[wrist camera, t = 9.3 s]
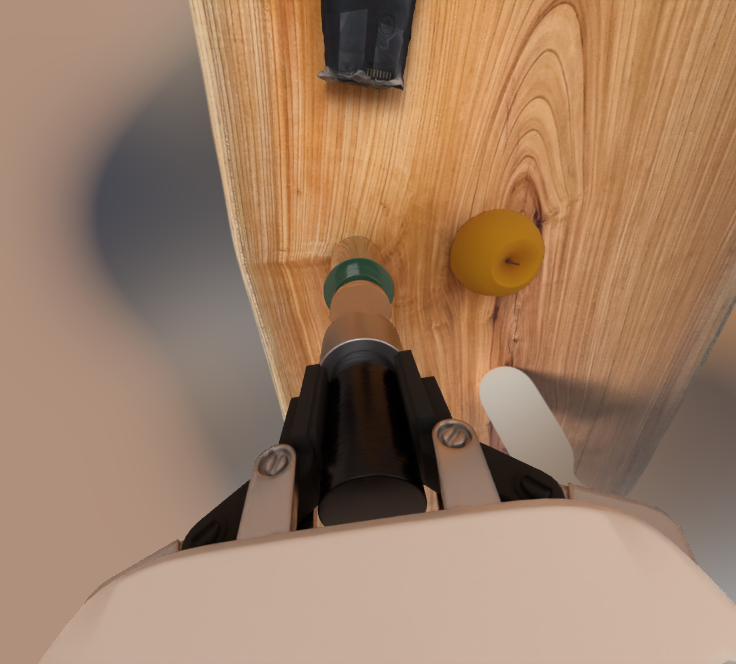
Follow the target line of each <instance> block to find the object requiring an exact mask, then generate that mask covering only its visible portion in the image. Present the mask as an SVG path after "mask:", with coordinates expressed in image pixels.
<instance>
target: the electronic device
mask: <svg viewBox="0 0 736 664" xmlns="http://www.w3.org/2000/svg"><path fill="white" fill-rule="evenodd" d="M415 3H416V0H321V17H322V31H323V35H324V44H325V65H326V66H325V70H324V71H321V72H319V74H317V77H319V78H321V79H323V80H325V81H329V82H334V83H343V84H350V85H356V86H363V87H368V88H375V89H386V88H390V87H394V88H399V89H402V91H403V87H404V80H403V75H404V69H405V64H406V57H407V51H408V45H409V41H410V39H411V27H412V21H413V15H414V10H415Z"/></svg>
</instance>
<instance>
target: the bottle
mask: <svg viewBox="0 0 736 664" xmlns="http://www.w3.org/2000/svg"><path fill="white" fill-rule="evenodd" d="M393 297H394V285H393V281H392V278H391V276H390V274H389V271H388V269H387V267H386V264H385V262H384V260H383V257H382V255H381V253H380V251H379V249H378V247H377V246H376V245H375V244H374V243H373V242H372V241H370V240H369V239H367V238H364V237H360V236H354V237H349V238H346V239H344V240H342V241H341V242H340V243H339V244H338V245H337V246H336V247H335V249H334V250H333V253H332V256H331V260H330V264H329V268H328V272H327V276H326V280H325V284H324V299H325V302H326V304H327V306H328V308H329V310H330V318H331V321H332V323H333V322H334V321H335V320H336V319H338V318H339V317H341V316H343V315H345V314H347V313H350V312H355V311H368V312H373V313H377V314H379V315H381V316H383V317H385V318H386V319H387V320H389V321H390V318H391V303H392V301H393Z"/></svg>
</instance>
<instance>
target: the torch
mask: <svg viewBox="0 0 736 664" xmlns="http://www.w3.org/2000/svg"><path fill="white" fill-rule="evenodd" d="M399 351H403V348H402V345H401V342H400V339H399V335H398V333H397V330H396V329H395V327H394V326H393V324H392V323H391V322H390V321H389V320H387V319H386V318H385V317H383V316H381V315H379V314H377V313H373V312H368V311H355V312H350V313H347V314H345V315H343V316H341V317H339V318H338V319H336V320H335V321H334V322H333V323H332V324H331V325H330V326H329V327H328V329H327V331H326V333H325V335H324V339H323V344H322V350H321V356H320V362H319V364H320V366H321V367H323V366H325V368H326V372H327V376H328V380H329V383H330V389H329V399H328V409H327V419H326V430H325V440H324V450H323V460H322V470H321V480H320V490H319V500H318V515H319V519H320V521H321V523H322V524H323V525H324V526H325V527H326V526H333V525H340V524H347V523H354V522H361V521H368V520H375V519H382V518H389V517H396V516H403V515H410V514H418V513H425V512H426V508H427V499H426V494H425V490H424V486H423V482H422V478H421V474H420V469H419V465H418V461H417V457H416V453H415V449H414V446H413V443H412V438H411V434H410V430H409V426H408V422H407V417H406V413H405V409H404V405H403V401H402V396H401V392H400V388H399V384H398V380H397V376H396V368H395V360H394V355H398V352H399Z"/></svg>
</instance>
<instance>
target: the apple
mask: <svg viewBox="0 0 736 664" xmlns="http://www.w3.org/2000/svg"><path fill="white" fill-rule="evenodd" d="M544 253H545V245H544V240H543V238H542V236H541V234H540V232H539V230H538V228H537V227H536V226H535V225H534V223H533V222H532V221H531V220H530V219H529V218H528V217H526V216H524V215H523V214H521V213H518V212H515V211H513V210H508V209H494V210H490V211H486V212H483V213H481V214H479V215H477V216H475V217H473V218H471V219H470V220H469V221H467V222H466V223H465V224H464V225H463V226H462V227H461V229H460V230H459V231H458V232H457V234H456V237H455V239H454V241H453V244H452V247H451V252H450V265H451V268H452V271H453V274H454V275H455V277H456V278H457V280H458V281H459V282H460V283H462V284H463V285H464V286H465V287H467V288H468V289H470V290H472V291H473V292H476V293H479V294H483V295H486V296H498V297H503V296H507V295H511V294H515V293H516V292H518V291H520V290H521V289H523V288H525V287H526V286H527V285H529V284H530V283H531V282H532V280H533V279H534V278H535V277H536V276H537V274H538V272H539V270H540V267H541V264H542V261H543V259H544Z"/></svg>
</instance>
